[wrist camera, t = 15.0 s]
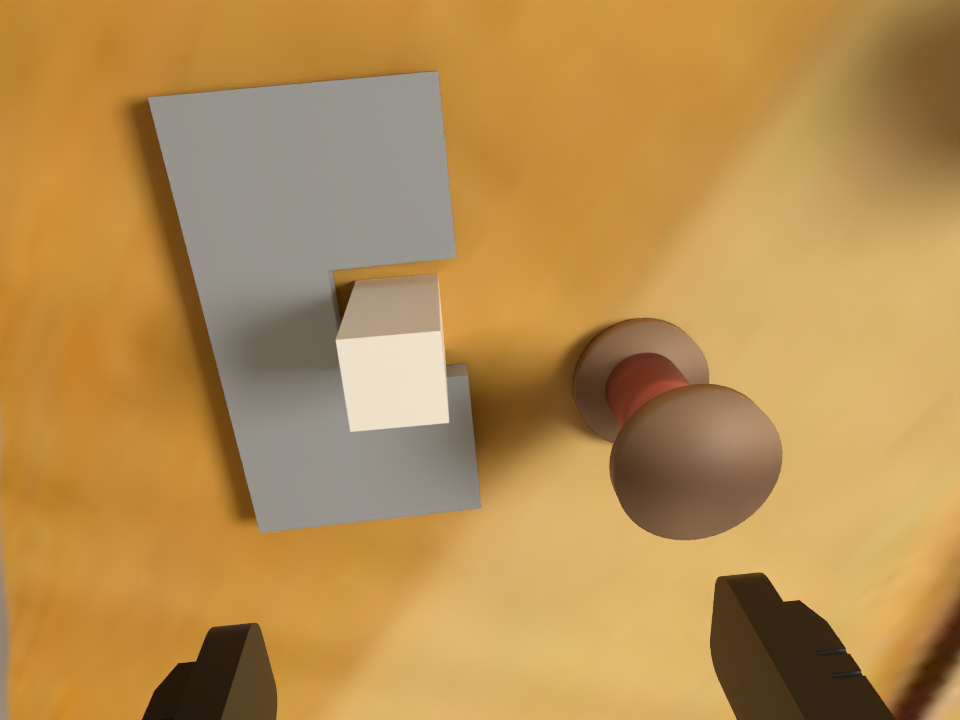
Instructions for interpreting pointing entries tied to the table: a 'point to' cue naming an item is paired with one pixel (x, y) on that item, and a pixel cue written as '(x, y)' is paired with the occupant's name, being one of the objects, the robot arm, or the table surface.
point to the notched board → (315, 282)
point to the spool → (674, 432)
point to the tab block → (393, 354)
